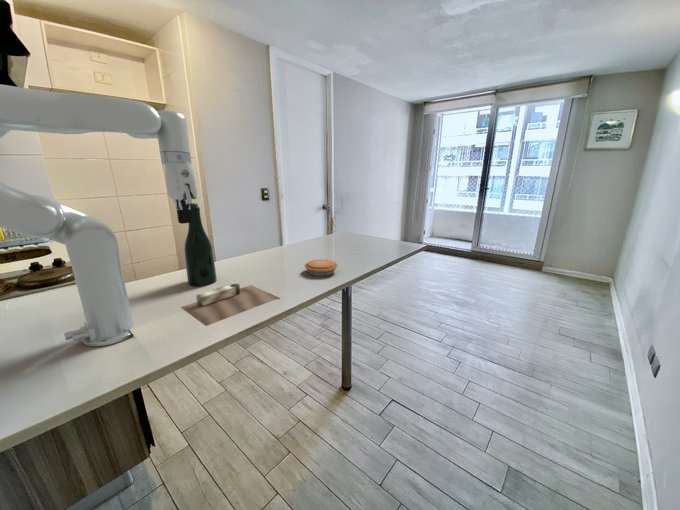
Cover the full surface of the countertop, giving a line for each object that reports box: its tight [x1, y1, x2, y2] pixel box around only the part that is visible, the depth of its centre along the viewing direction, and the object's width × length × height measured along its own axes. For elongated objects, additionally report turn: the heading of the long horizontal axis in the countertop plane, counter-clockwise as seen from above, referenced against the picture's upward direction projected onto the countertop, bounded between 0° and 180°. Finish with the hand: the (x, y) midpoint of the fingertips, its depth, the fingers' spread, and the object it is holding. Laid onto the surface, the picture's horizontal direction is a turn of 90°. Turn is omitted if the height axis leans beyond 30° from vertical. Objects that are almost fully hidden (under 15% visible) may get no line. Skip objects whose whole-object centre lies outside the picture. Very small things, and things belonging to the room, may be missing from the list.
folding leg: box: [195, 283, 241, 306], centre depth 97 cm, size 15×3×3 cm, turn 140°
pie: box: [304, 259, 339, 277], centre depth 130 cm, size 15×16×5 cm
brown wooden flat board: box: [180, 284, 280, 327], centre depth 95 cm, size 26×18×4 cm
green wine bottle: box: [183, 202, 218, 288], centre depth 109 cm, size 10×10×33 cm
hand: (185, 222), depth 85 cm, fingers closed
